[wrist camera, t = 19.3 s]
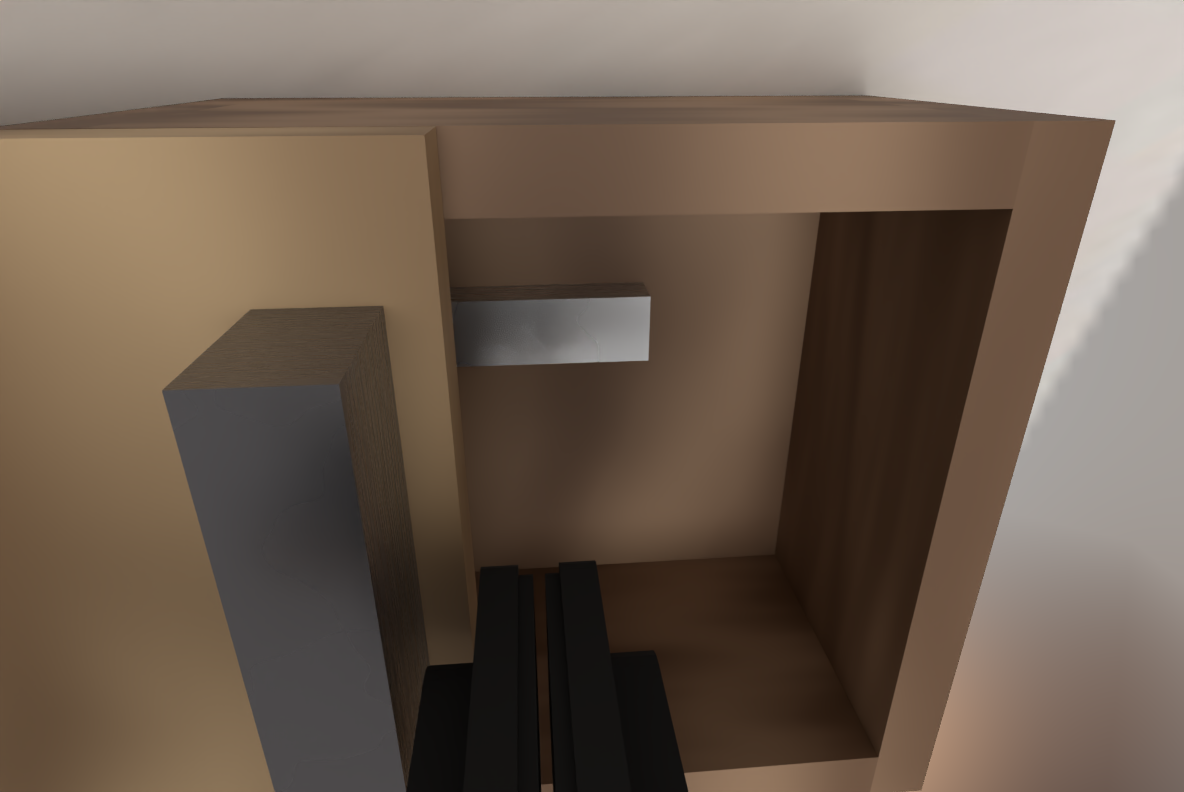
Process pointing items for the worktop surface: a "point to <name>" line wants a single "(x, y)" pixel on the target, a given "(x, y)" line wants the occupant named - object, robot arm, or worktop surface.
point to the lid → (225, 458)
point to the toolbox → (746, 385)
